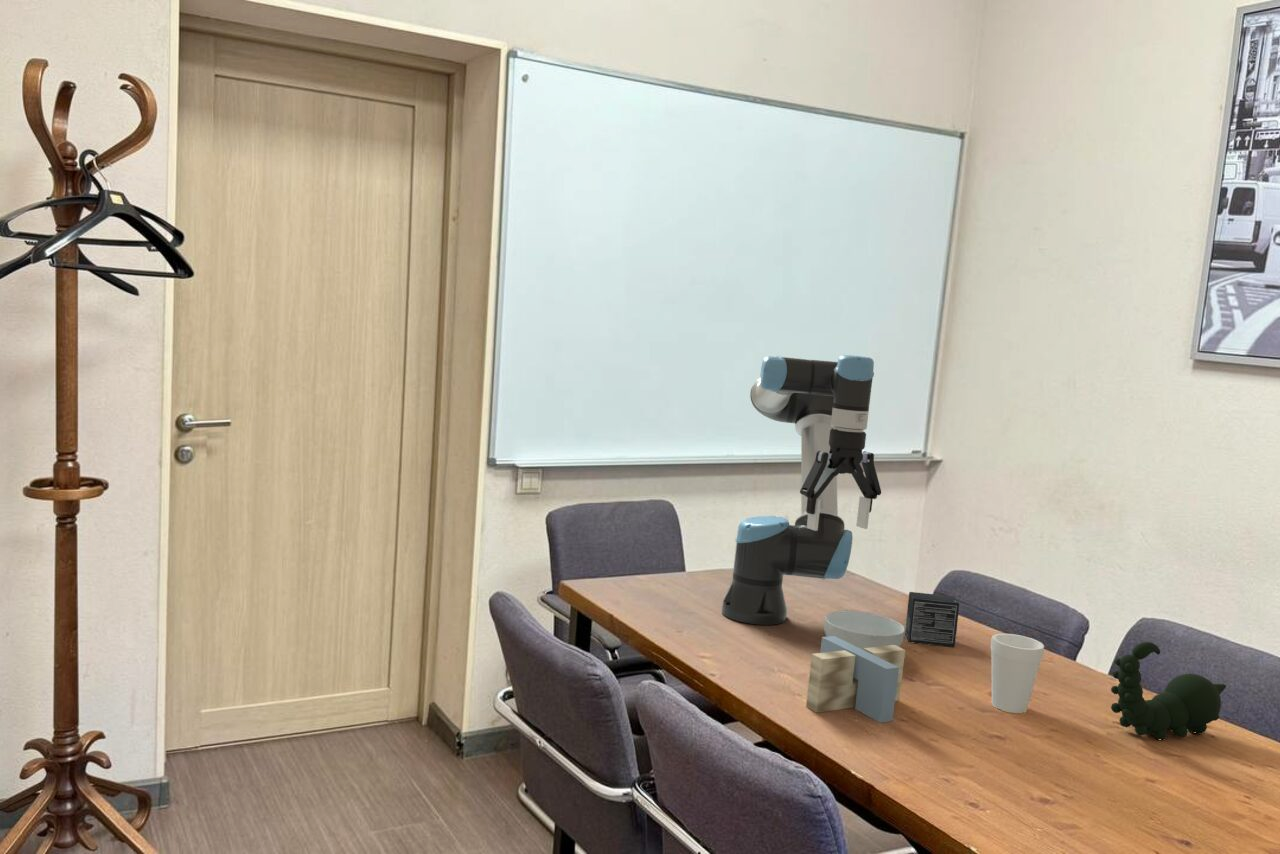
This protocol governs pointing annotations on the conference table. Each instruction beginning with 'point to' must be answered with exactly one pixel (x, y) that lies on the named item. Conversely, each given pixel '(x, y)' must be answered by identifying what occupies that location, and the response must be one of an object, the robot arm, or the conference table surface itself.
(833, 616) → the cereal bowl
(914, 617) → the small box
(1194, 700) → the toy figurine
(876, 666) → the blue-grey arch block
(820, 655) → the notched birch block
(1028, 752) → the conference table surface
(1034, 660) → the foam cup
